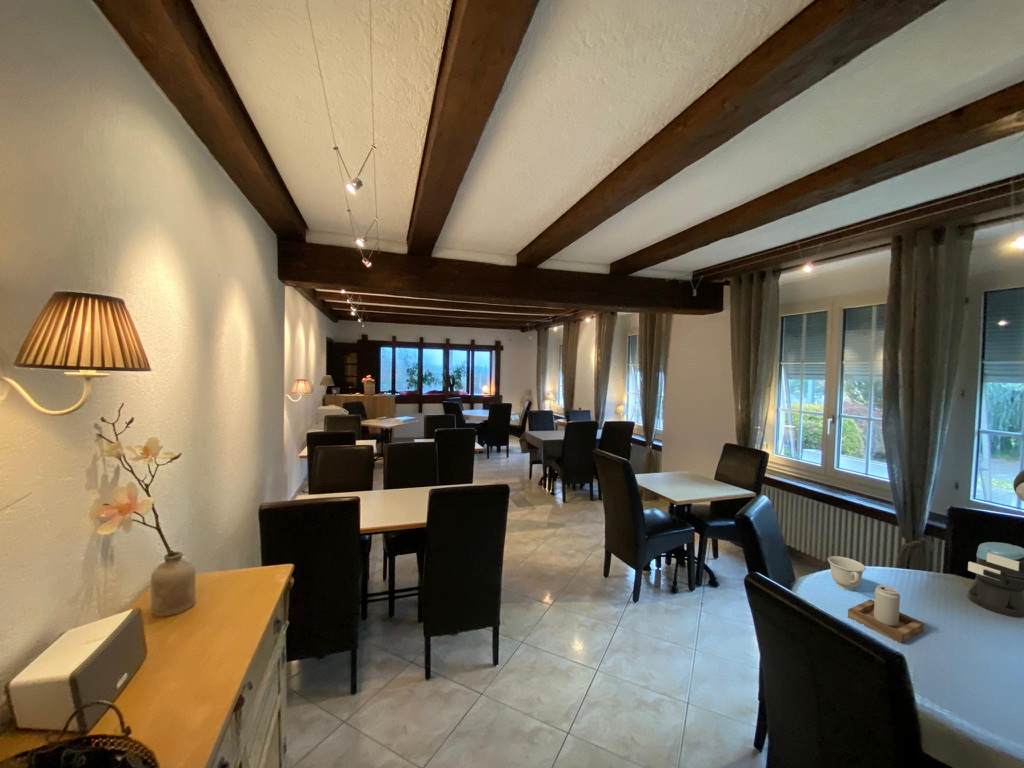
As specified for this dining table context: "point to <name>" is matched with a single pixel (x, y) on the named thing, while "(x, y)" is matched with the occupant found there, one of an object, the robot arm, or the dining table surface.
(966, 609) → the dining table surface
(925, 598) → the dining table surface
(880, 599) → the beverage can
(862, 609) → the tray
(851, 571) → the teacup
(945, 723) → the dining table surface
